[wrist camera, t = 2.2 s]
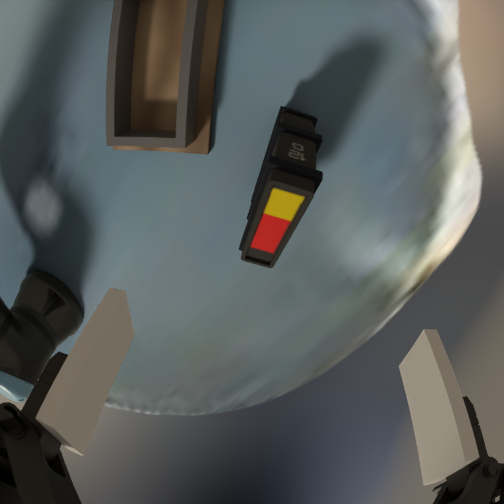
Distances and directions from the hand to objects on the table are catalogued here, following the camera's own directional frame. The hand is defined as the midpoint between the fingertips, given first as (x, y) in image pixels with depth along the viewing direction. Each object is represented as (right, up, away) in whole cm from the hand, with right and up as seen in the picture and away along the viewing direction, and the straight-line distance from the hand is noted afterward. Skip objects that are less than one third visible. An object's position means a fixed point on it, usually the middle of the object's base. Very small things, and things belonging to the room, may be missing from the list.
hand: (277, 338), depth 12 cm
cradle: (-11, +24, +14) cm, 30 cm away
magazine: (+2, +14, +21) cm, 25 cm away
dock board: (-11, +25, +15) cm, 31 cm away
